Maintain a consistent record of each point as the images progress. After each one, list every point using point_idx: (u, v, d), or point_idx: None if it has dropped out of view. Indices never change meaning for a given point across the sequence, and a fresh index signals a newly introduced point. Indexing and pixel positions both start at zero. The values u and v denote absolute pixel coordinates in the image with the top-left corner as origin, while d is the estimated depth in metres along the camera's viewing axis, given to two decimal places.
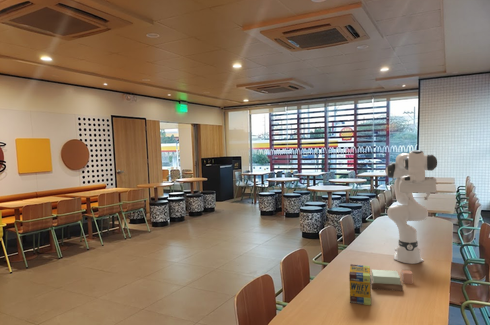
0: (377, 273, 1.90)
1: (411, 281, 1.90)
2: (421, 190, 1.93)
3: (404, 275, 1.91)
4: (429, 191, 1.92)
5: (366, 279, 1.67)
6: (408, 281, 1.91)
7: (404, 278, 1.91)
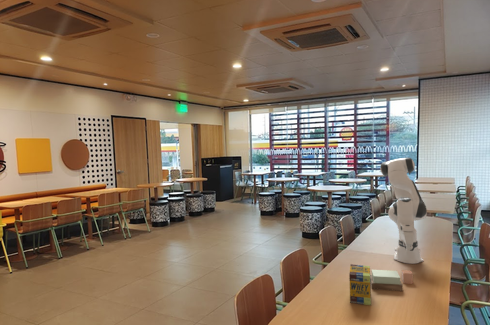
0: (377, 273, 1.89)
1: (411, 281, 1.90)
2: None
3: (404, 275, 1.91)
4: None
5: (366, 279, 1.67)
6: (408, 281, 1.91)
7: (404, 278, 1.91)
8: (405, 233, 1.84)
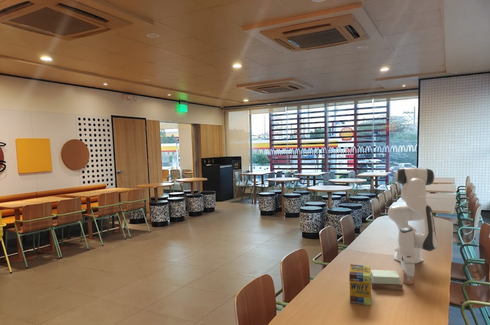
0: (377, 273, 1.89)
1: (411, 281, 1.90)
2: None
3: (404, 275, 1.91)
4: None
5: (366, 279, 1.67)
6: (408, 281, 1.91)
7: (404, 278, 1.91)
8: (406, 265, 1.84)
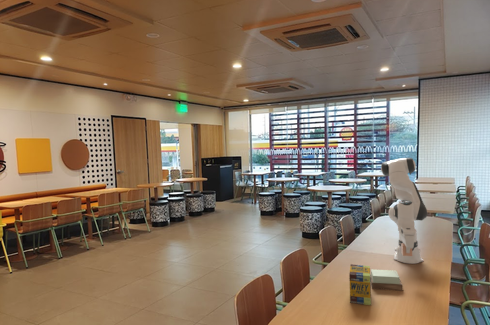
0: (377, 272, 1.90)
1: (410, 253, 1.90)
2: None
3: (403, 247, 1.90)
4: None
5: (366, 279, 1.67)
6: (407, 253, 1.90)
7: (403, 250, 1.90)
8: (406, 236, 1.84)
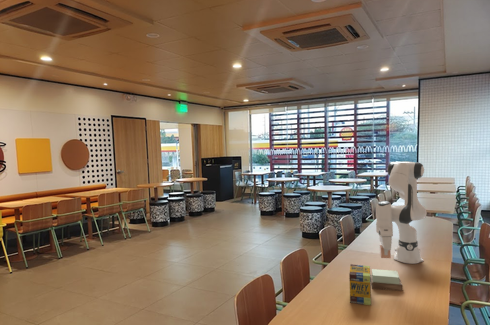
0: (377, 272, 1.90)
1: (389, 255, 1.85)
2: None
3: (382, 249, 1.86)
4: None
5: (366, 279, 1.67)
6: (386, 256, 1.85)
7: (382, 253, 1.86)
8: (383, 238, 1.79)
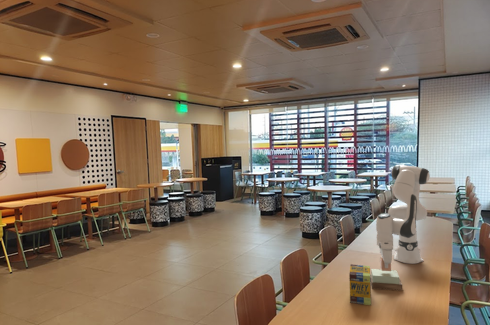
0: (377, 272, 1.90)
1: (389, 268, 1.85)
2: None
3: (382, 262, 1.86)
4: None
5: (366, 279, 1.67)
6: (386, 268, 1.86)
7: (382, 265, 1.86)
8: (383, 251, 1.80)
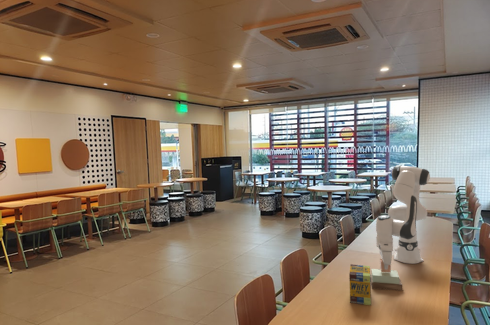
0: (377, 272, 1.90)
1: (389, 270, 1.86)
2: None
3: (382, 264, 1.86)
4: None
5: (366, 279, 1.67)
6: (386, 270, 1.86)
7: (382, 267, 1.87)
8: (383, 253, 1.80)
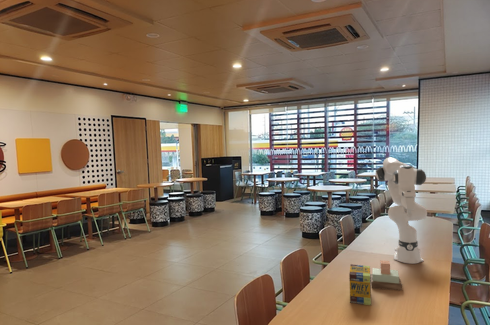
0: (377, 271, 1.91)
1: (388, 271, 1.87)
2: None
3: (381, 265, 1.88)
4: None
5: (366, 279, 1.67)
6: (385, 271, 1.87)
7: (381, 268, 1.88)
8: (406, 198, 1.88)
